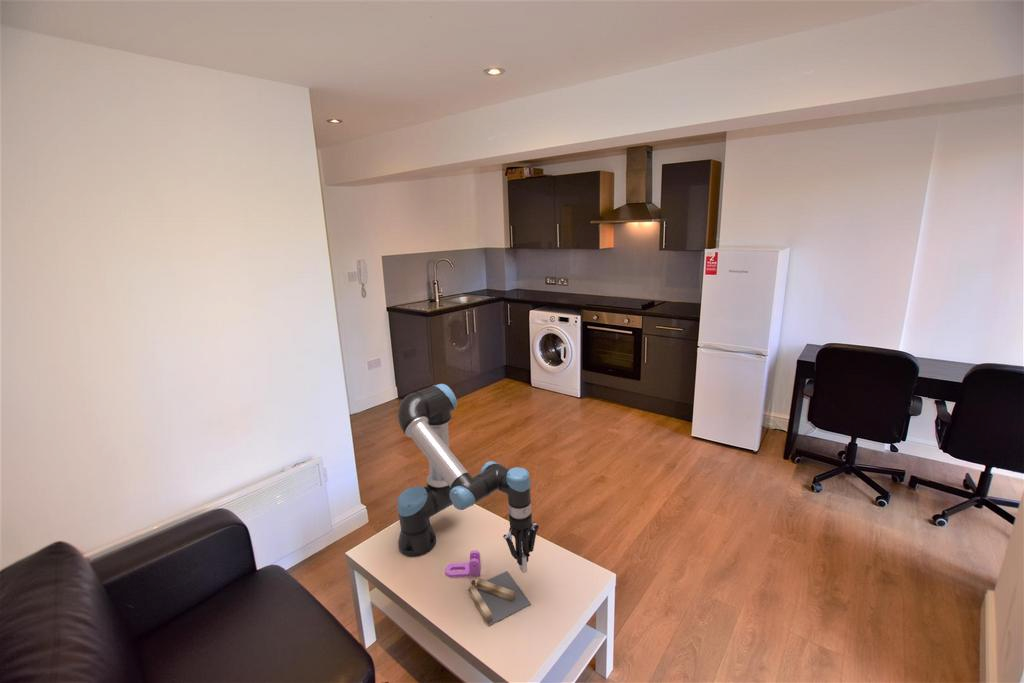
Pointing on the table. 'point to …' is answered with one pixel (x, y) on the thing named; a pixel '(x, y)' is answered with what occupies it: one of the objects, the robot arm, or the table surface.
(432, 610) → the table surface
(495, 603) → the mat
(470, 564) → the bracket
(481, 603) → the tongs base
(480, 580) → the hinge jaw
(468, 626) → the table surface
